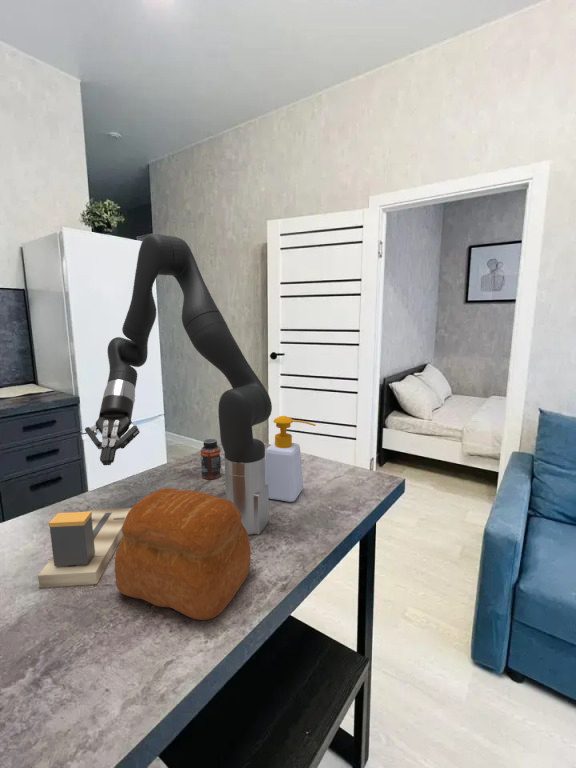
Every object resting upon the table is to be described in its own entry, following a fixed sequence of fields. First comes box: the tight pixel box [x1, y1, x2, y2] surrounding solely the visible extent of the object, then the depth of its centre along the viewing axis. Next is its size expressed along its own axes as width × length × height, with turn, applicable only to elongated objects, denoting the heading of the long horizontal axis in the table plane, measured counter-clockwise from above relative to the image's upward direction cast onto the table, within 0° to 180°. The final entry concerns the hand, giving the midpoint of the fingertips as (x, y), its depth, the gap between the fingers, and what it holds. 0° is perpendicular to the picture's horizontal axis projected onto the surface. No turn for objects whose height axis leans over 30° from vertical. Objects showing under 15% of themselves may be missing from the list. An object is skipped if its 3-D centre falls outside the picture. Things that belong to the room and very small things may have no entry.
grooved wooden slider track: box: [37, 507, 132, 589], centre depth 83 cm, size 24×10×3 cm, turn 6°
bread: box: [114, 487, 252, 621], centre depth 71 cm, size 18×21×17 cm
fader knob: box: [48, 511, 95, 566], centre depth 74 cm, size 4×6×9 cm, turn 96°
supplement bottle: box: [200, 438, 222, 480], centre depth 119 cm, size 6×6×11 cm
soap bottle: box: [265, 415, 317, 503], centre depth 106 cm, size 10×14×22 cm
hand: (106, 463), depth 92 cm, fingers closed
